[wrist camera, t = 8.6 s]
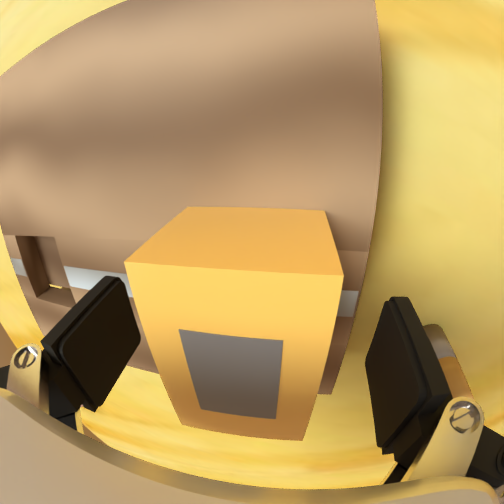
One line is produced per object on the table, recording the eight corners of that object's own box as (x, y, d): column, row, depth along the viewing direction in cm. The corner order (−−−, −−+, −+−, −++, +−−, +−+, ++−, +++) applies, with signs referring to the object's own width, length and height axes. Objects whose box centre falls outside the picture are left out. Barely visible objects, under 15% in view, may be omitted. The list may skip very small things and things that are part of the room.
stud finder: (187, 206, 9) (123, 262, 5) (324, 210, 8) (344, 276, 5) (208, 354, 12) (181, 425, 8) (305, 363, 11) (302, 441, 8)
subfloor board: (30, 83, 11) (-13, 87, 7) (351, 17, 8) (371, -20, 4) (71, 306, 19) (43, 336, 15) (327, 342, 16) (331, 394, 12)
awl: (413, 324, 14) (455, 449, 6) (449, 323, 14) (498, 433, 6) (399, 357, 16) (425, 472, 8) (433, 354, 15) (467, 459, 7)
